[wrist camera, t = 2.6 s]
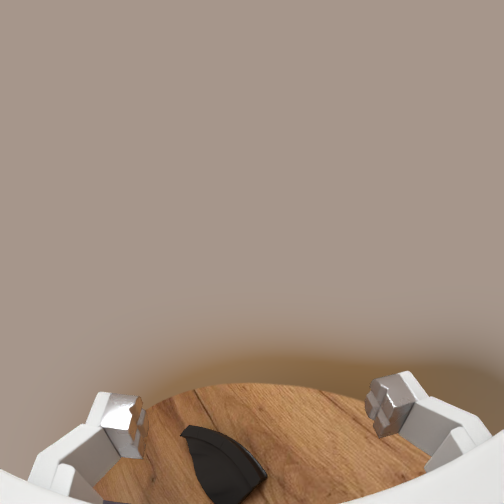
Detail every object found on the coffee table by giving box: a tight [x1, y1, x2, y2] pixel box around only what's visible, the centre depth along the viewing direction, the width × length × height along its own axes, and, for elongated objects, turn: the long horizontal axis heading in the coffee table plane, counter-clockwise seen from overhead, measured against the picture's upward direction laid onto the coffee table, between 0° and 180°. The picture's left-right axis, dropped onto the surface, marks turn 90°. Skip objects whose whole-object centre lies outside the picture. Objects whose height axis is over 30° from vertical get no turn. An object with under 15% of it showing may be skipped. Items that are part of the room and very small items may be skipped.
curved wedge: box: [180, 425, 267, 504], centre depth 29 cm, size 8×14×2 cm, turn 41°
